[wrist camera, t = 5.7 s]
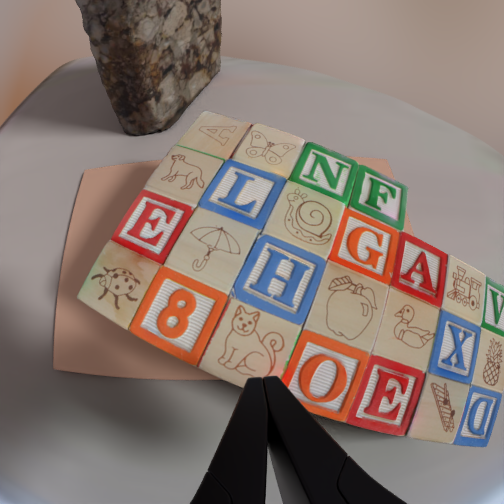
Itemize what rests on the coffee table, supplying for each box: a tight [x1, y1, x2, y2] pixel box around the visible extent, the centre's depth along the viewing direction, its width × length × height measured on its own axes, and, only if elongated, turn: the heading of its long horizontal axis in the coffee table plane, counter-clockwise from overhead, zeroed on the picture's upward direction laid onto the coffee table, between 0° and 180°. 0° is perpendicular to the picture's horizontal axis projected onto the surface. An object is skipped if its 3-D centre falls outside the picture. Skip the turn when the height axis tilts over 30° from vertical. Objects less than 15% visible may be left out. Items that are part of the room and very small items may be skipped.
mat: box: [53, 156, 414, 380], centre depth 19 cm, size 16×26×1 cm, turn 94°
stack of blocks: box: [77, 111, 504, 447], centre depth 14 cm, size 21×6×12 cm
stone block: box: [76, 0, 222, 136], centre depth 17 cm, size 13×7×20 cm, turn 164°
